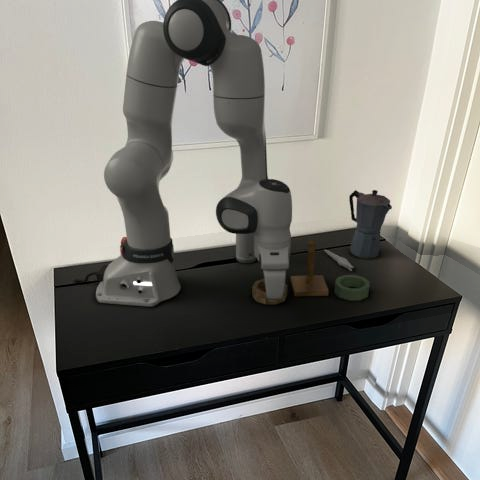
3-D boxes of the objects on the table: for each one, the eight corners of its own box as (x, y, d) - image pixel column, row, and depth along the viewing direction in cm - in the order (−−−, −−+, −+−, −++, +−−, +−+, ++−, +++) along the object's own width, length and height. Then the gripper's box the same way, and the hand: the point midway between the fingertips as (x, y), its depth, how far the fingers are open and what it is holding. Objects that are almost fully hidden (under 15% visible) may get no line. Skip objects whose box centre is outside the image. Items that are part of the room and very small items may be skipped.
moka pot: (374, 265, 152) (384, 199, 141) (333, 249, 161) (339, 186, 151) (393, 255, 157) (403, 191, 147) (352, 241, 167) (359, 179, 156)
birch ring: (253, 304, 133) (253, 294, 131) (251, 288, 140) (251, 278, 139) (288, 304, 133) (289, 293, 131) (285, 287, 140) (285, 278, 139)
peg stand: (294, 296, 136) (297, 248, 129) (290, 280, 144) (292, 234, 137) (328, 295, 137) (332, 247, 129) (322, 279, 144) (326, 233, 137)
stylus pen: (356, 270, 149) (357, 264, 148) (348, 272, 148) (349, 266, 147) (327, 251, 160) (328, 245, 159) (320, 252, 159) (320, 247, 158)
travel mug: (256, 264, 153) (256, 198, 142) (234, 262, 154) (233, 197, 143) (259, 255, 158) (260, 191, 147) (238, 254, 159) (237, 190, 149)
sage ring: (337, 300, 134) (338, 290, 133) (331, 285, 142) (332, 275, 140) (372, 300, 134) (374, 290, 133) (364, 284, 142) (365, 274, 140)
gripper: (256, 231, 134) (256, 279, 141) (262, 266, 117) (261, 318, 124) (281, 231, 134) (279, 278, 141) (289, 266, 117) (287, 317, 124)
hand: (270, 297), depth 133 cm, fingers closed
